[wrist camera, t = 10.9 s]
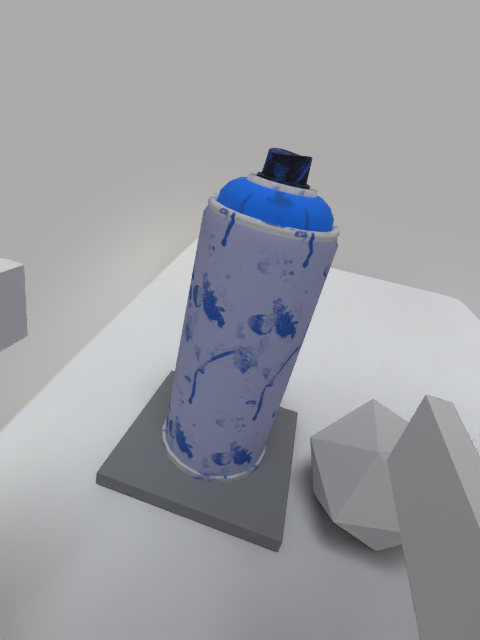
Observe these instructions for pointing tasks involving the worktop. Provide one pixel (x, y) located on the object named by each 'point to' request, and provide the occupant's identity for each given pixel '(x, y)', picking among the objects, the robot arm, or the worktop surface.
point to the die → (359, 473)
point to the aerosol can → (247, 316)
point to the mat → (197, 495)
